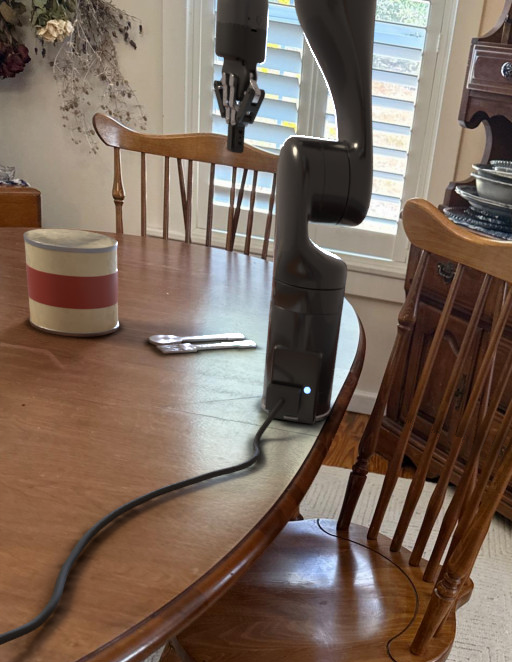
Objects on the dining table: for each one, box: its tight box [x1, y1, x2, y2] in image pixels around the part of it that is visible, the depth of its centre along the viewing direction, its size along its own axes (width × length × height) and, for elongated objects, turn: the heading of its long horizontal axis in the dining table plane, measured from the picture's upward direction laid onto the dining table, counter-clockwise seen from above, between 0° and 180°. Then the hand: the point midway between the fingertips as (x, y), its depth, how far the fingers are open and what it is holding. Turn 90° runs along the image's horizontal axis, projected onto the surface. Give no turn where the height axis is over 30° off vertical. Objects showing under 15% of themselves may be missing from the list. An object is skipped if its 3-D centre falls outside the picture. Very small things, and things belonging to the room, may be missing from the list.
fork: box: [156, 340, 257, 355], centre depth 121 cm, size 16×3×1 cm, turn 126°
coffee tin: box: [23, 228, 120, 338], centre depth 119 cm, size 13×13×13 cm
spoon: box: [148, 332, 246, 346], centre depth 124 cm, size 16×4×1 cm, turn 126°
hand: (235, 152), depth 123 cm, fingers closed
